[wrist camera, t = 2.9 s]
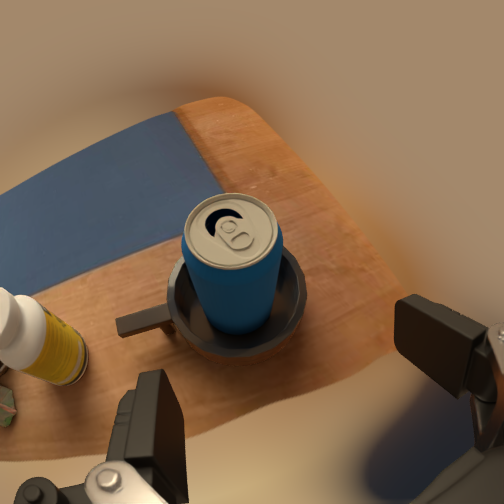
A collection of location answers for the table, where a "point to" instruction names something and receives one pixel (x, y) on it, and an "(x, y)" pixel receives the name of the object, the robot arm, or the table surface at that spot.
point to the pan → (246, 345)
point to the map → (6, 406)
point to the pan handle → (146, 321)
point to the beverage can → (233, 260)
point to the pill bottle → (39, 341)
